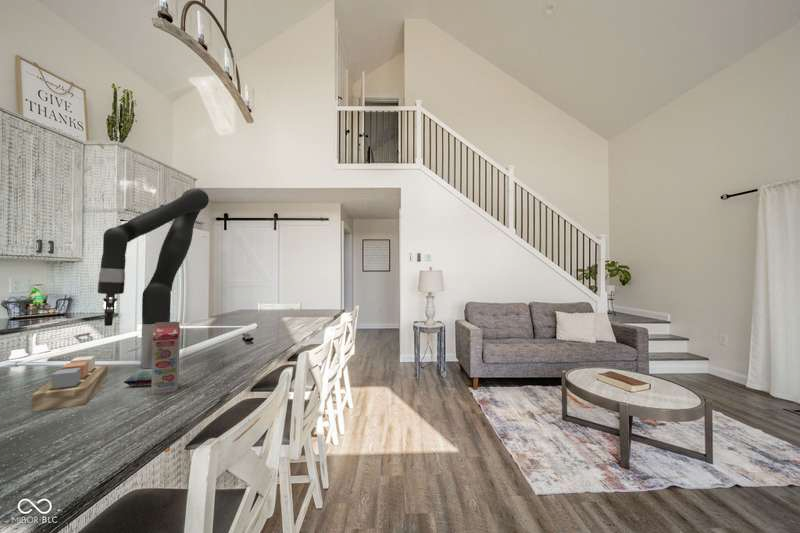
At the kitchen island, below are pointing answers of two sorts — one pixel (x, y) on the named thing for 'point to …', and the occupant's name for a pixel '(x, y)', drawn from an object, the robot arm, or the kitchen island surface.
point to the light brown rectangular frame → (70, 392)
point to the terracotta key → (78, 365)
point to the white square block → (86, 359)
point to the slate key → (66, 378)
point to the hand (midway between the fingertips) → (108, 324)
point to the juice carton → (165, 357)
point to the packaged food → (140, 378)
